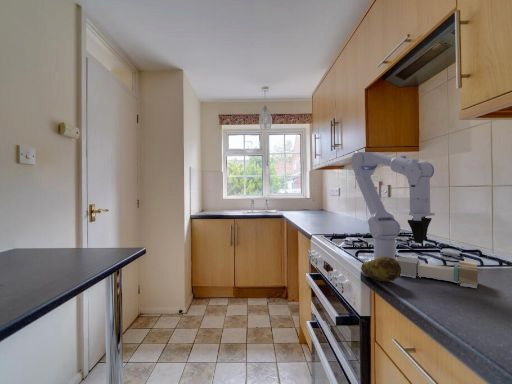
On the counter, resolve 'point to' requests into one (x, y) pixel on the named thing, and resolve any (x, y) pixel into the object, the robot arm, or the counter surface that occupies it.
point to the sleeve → (408, 265)
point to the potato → (382, 269)
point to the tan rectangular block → (468, 272)
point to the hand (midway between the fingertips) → (420, 241)
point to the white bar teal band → (439, 271)
